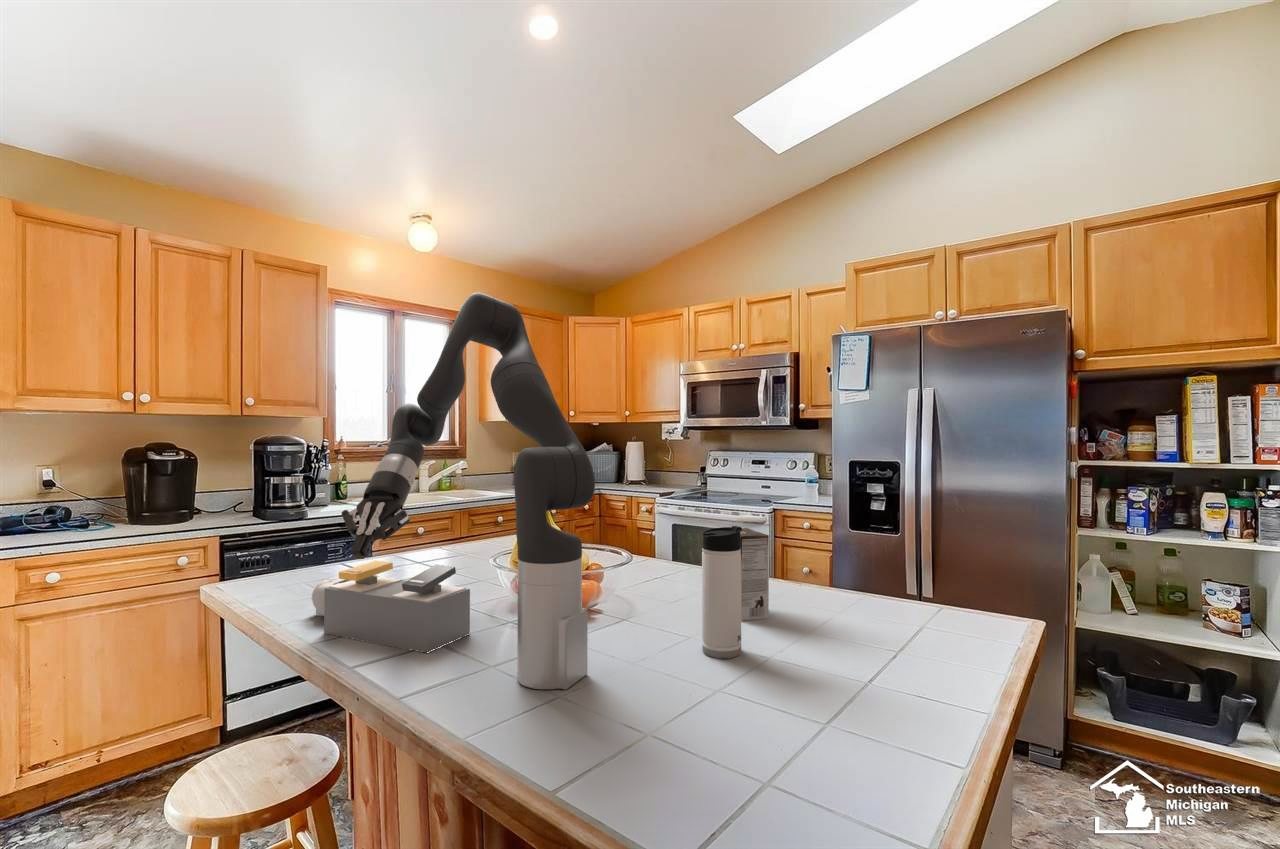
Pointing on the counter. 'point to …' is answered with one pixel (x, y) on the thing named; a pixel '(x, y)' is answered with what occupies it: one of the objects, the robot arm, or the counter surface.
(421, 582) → the black rocker
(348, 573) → the amber rocker
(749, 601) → the coffee box
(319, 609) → the cable organizer
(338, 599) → the grey switch box
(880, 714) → the counter surface
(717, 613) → the travel mug
